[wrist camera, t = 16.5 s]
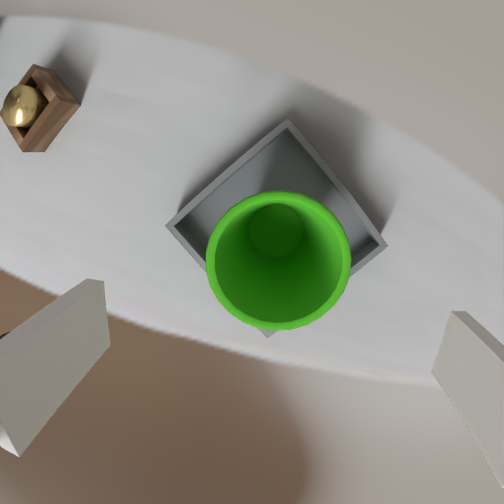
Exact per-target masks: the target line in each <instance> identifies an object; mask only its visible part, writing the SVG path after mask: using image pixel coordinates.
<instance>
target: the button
mask: <svg viewBox="0 0 504 504" xmlns="http://www.w3.org/2000/svg"><path fill="white" fill-rule="evenodd" d="M46 106H47V98H46V96H45V95H44V94H43V92H42V91H41V89H38V88H34V87H30V86H25V85H17V86H15V87H14V88H12V89H11V90H10V92H9V93H8V95H7V96H6V98H5V101H4V104H3V111H2V114H3V119H4V121H5V123H6V124H7V125H9V126H17V127H32V126H33V124H34V123H35V121H36V120H37V119H38V117H39V116H40V114H41V113H42V112H43V110H44V109H45V108H46Z"/></svg>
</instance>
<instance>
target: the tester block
mask: <svg viewBox="0 0 504 504" xmlns="http://www.w3.org/2000/svg"><path fill="white" fill-rule="evenodd" d="M18 85H25V86H30V87H34V88H38V89H41V91H42V92H43V94H44V95H45V96H46V98H47V106H46V108H45V109H44V110H43V112H42V113H41V114H40V116H39V117H38V119H37V120H36V121H35V123H34V124H33V126H32V127H17V126H9V125H7V124H6V123H5V121H4V119H3V114H2V111H3V108H2V109H1V111H0V116H1V117H2V119H3V121H4V123H5V124H6V126H7V128H8V129H9V131H10V133H11V134H12V136H13V138H14V139H15V141H16V142H17V144H18V146H19V147H20V149H21V150H22V152H45V151H46V149H47V148H48V146H49V145H50V144H51V142H52V141H53V140H54V138H55V137H56V136H57V134H58V133H59V132H60V130H61V129H62V128H63V127H64V125H65V124H66V123H67V121H68V120H69V119H70V118H71V116H72V115H73V114H74V113H75V112H76V110H77V109H78V108H79V107H80V106H81V105H80V104H79V103H78V102H77V100H76V99H75V98H74V97H73V95H72V94H71V93H70V91H69V90H68V89H67V88H66V86H65V85H64V84H63V82H62V81H61V80H60V79H59V77H58V76H57V75H56V73H55V72H54V71H53V70H50V69H47V68H44V67H41V66H38V65H35V64H33V65H32V66H31V68H30V69H29V70H28V72H27V73H26V74H25V76H24V77H23V78H22V80H21V81H20V83H19V84H18Z"/></svg>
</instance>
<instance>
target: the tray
mask: <svg viewBox="0 0 504 504" xmlns="http://www.w3.org/2000/svg"><path fill="white" fill-rule="evenodd" d="M277 190H285V191H291V192H297V193H302V194H304V195H306V196H308V197H311V198H313V199H315V200H317V201H319V202H320V203H321V204H323V205H324V206H325V207H326V208H328V209H329V210H330V211H331V212H332V213H333V214H334V215H335V217H336V218H337V219H338V221H339V222H340V223H341V225H342V226H343V228H344V230H345V233H346V235H347V238H348V240H349V243H350V251H351V259H352V260H351V269H350V276H352V275H353V274H354V273H355V272H357V271H358V270H359V269H361V268H362V267H363V266H364V265H366V264H367V263H368V262H369V261H370V260H372V259H373V258H374V257H375V256H377V255H378V254H379V253H380V252H382V251H383V250H384V249H385V248H386V247H388V245H387V244H386V242H385V241H384V239H383V238H382V236H381V235H380V234H379V232H378V231H377V229H376V228H375V226H374V225H373V224H372V222H371V221H370V219H369V218H368V217H367V215H366V214H365V213H364V211H363V210H362V209H361V207H360V206H359V205H358V203H357V202H356V201H355V199H354V198H353V197H352V195H351V194H350V193H349V191H348V190H347V189H346V187H345V186H344V185H343V184H342V182H341V181H340V180H339V178H338V177H337V176H336V175H335V173H334V172H333V171H332V170H331V168H330V167H329V166H328V165H327V163H326V162H325V161H324V160H323V158H322V157H321V156H320V155H319V154H318V152H317V151H316V150H315V149H314V148H313V146H312V145H311V144H310V143H309V142H308V140H307V139H306V138H305V137H304V136H303V135H302V133H301V132H300V131H299V130H298V129H297V128H296V127H295V125H294V124H293V123H292V122H291V121H290V120H289V119H288V118H287V119H286V120H285V121H283V122H282V123H281V124H280V125H278V126H277V127H276V128H275V129H274V130H272V131H271V132H270V133H269V134H267V135H266V136H265V137H264V138H263V139H261V140H260V141H259V142H258V143H257V144H255V145H254V146H253V147H252V148H251V149H249V150H248V151H247V152H246V153H245V154H243V155H242V156H241V157H240V158H239V159H238V160H236V161H235V162H234V163H233V164H232V165H231V166H230V167H228V168H227V169H226V170H225V171H224V172H223V173H222V174H220V175H219V176H218V177H217V178H216V179H215V180H214V181H212V182H211V183H210V184H209V185H208V186H207V187H206V188H205V189H204V190H202V191H201V192H200V193H199V194H198V195H197V196H196V197H195V198H194V199H193V200H191V201H190V202H189V203H188V204H187V205H186V206H185V207H184V208H183V209H182V210H181V211H180V212H179V213H177V214H176V215H175V216H174V217H173V218H172V219H171V220H170V221H169V222H168V223H167V224H166V225H165V226H166V227H167V229H168V230H169V231H170V232H171V233H172V234H173V235H174V237H175V238H176V239H177V240H178V241H179V242H180V243H181V245H182V246H183V247H184V248H185V249H186V250H187V251H188V253H189V254H190V255H191V256H192V257H193V258H194V259H195V260H196V262H197V263H198V264H199V265H200V266H201V267H202V268H203V269H204V271H205V272H206V249H207V245H208V241H209V237H210V235H211V233H212V231H213V229H214V227H215V226H216V224H217V222H218V220H219V219H220V218H221V217H222V216H223V215H224V214H225V213H226V212H227V211H228V210H229V208H230V207H232V206H233V205H235V204H237V203H238V202H240V201H241V200H243V199H244V198H246V197H249V196H252V195H255V194H258V193H261V192H264V191H277ZM350 276H349V277H350ZM258 329H259V330H260V331H261V332H262V333H263V334H264V335H265V336H266V337H267V338H268V337H270V336H271V335H272V334H274V333H275V332H277V331H278V330H276V331H274V330H268V329H261V328H258Z"/></svg>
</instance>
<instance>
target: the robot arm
mask: <svg viewBox="0 0 504 504" xmlns="http://www.w3.org/2000/svg"><path fill="white" fill-rule="evenodd" d="M110 345H111V344H110V337H109V329H108V320H107V311H106V301H105V290H104V281H100V280H93V279H86V280H84V281H83V282H81V283H80V284H78V285H77V286H75V287H74V288H72V289H71V290H69V291H68V292H66V293H65V294H63V295H62V296H60V297H59V298H57V299H56V300H55V301H53V302H52V303H50V304H49V305H47V306H46V307H44V308H43V309H42V310H40V311H39V312H37V313H36V314H34V315H33V316H32V317H30V318H29V319H28V320H26V321H25V322H23V323H22V324H21V325H19V326H18V327H16V328H15V329H14V330H12V331H10V332H8V333H5V334H3V335H2V336H0V446H1V447H2V448H4V449H6V450H7V451H9V452H11V453H13V454H15V455H16V456H18V457H20V456H21V454H22V453H23V452H24V451H25V449H26V448H27V447H28V445H29V444H30V443H31V442H32V440H33V439H34V438H35V436H36V435H37V434H38V433H39V431H40V430H41V429H42V427H43V426H44V425H45V424H46V422H47V421H48V420H49V419H50V417H51V416H52V415H53V414H54V412H55V411H56V410H57V409H58V407H59V406H60V405H61V404H62V402H63V401H64V400H65V399H66V398H67V396H68V395H69V394H70V393H71V392H72V390H73V389H74V388H75V387H76V385H77V384H78V383H79V382H80V381H81V379H82V378H83V377H84V376H85V374H86V373H87V372H88V371H89V370H90V369H91V367H92V366H93V365H94V364H95V362H97V360H98V359H99V358H100V357H101V356H102V354H103V353H104V352H105V351H106V350H107V348H108V347H109V346H110ZM431 372H432V373H433V375H434V376H435V378H436V379H437V381H438V382H439V384H440V385H441V387H442V388H443V390H444V392H445V393H446V395H447V396H448V398H449V399H450V401H451V402H452V404H453V406H454V407H455V409H456V410H457V412H458V413H459V415H460V417H461V418H462V420H463V422H464V423H465V425H466V427H467V428H468V430H469V432H470V433H471V435H472V437H473V438H474V440H475V442H476V444H477V445H478V447H479V449H480V450H481V452H482V454H483V456H484V457H485V459H486V461H487V463H488V464H489V466H490V468H491V470H492V472H493V473H494V475H495V477H496V479H497V481H498V483H499V484H500V487H501V489H502V488H504V346H503V345H502V344H501V343H500V342H499V341H498V340H497V339H496V338H495V337H494V336H493V335H492V334H491V333H489V332H488V331H487V330H486V329H485V328H484V327H483V326H482V325H481V324H480V323H478V322H477V321H476V320H475V319H474V318H473V317H472V316H470V315H469V314H468V313H467V312H464V311H451V314H450V317H449V321H448V324H447V327H446V330H445V333H444V337H443V340H442V343H441V345H440V348H439V351H438V354H437V357H436V360H435V362H434V365H433V368H432V370H431Z"/></svg>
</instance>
